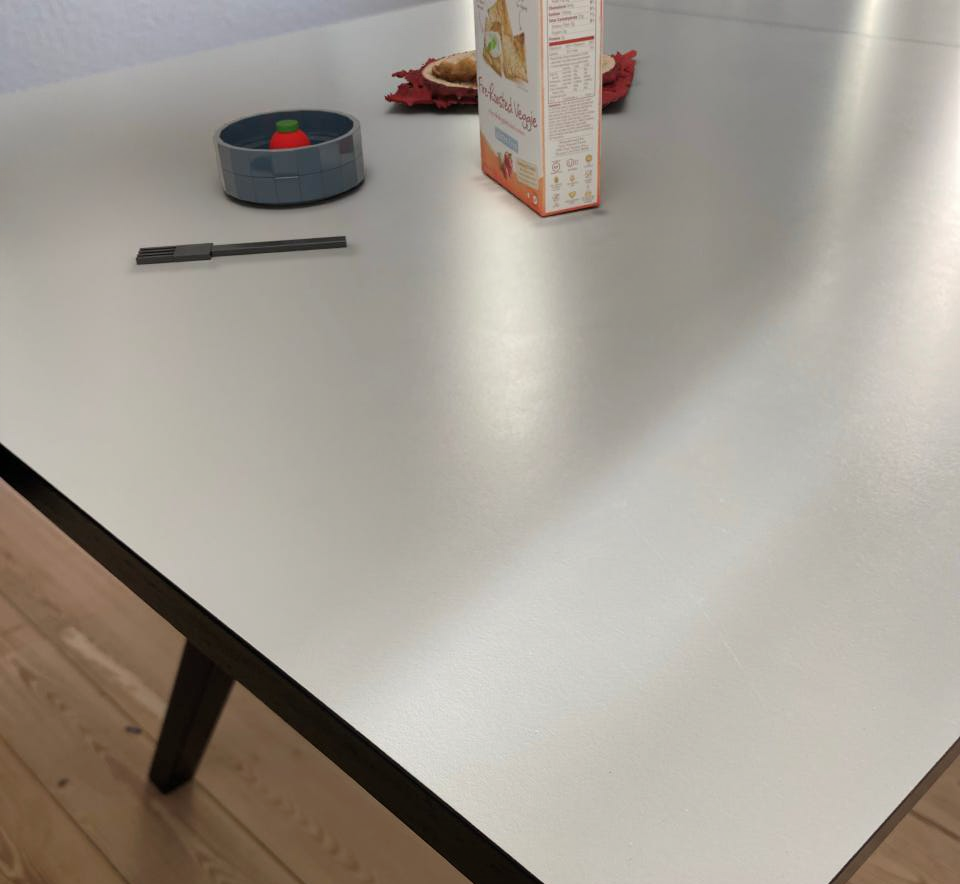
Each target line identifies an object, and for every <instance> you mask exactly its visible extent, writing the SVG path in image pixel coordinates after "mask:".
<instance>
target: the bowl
mask: <svg viewBox="0 0 960 884" xmlns="http://www.w3.org/2000/svg"><path fill="white" fill-rule="evenodd" d="M282 120H296V121H298V126H299V129H300V130H301V131H302V132H304V133H305V134H306V136H307V137H308V139H309V141H310V144H311V145H310V146H304V147H298V148H288V149H274V150H270V141H271V138H272V136H273V135H274V134H275V132H276V131H277V129H276V123H277V122H279V121H282ZM212 142H213V147H214V153H215V158H216V162H217V169H218V174H219V178H220V179H219V180H220V186H221V189H222V190H223V191H224V192H225V194H226V195H228V196H231V197H233V198H235V199H237V200H240V201H245V202H250V203H253V204H259V205H266V206H293V205H295V206H296V205H304V204H305V205H306V204H310V203H317V202H321V201H324V200H327V199H330V198H334V197H337V196H338V195H340V194H342V193H345V192H346V191H349V190H350V189H352V188H355V187H356V186H359V184H361V182H362V181H363V180H364V179H365V177H366V168H365V167H366V166H365V158H364V149H363V138H362V128H361V121H360V120H359V119H358V117H356V116H354V115H352V114H350V113H347V112H343V111H340V110H332V109H325V108H289V109H277V110H271V111H264V112H258V113H254V114H250V115H246V116H241V117H238V118H236V119H234V120H231V121H229V122H226V123H224V124H222V125H221V126H219V127H218V128H217V129H215V130H214V133H213V134H212Z"/></svg>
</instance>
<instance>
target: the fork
mask: <svg viewBox="0 0 960 884" xmlns="http://www.w3.org/2000/svg"><path fill="white" fill-rule="evenodd" d="M346 247H347V236H346V235H337V236H336V235H335V236H323V237H308V238H296V239H281V240H268V241H253V242H239V243H229V244H227V243H226V244H214V242H205V243H204V242H203V243H191V244H176V245H165V246H163V245H162V246H150V247H149V246H148V247H140V248H138V249H139V250H138V252H137V254H136V257H135V262H136V265H145V264H146V265H147V264H160V263H174V262H176V263H177V262H189V261H204V260H211V259H212V257H220V256H221V257H222V256H233V255H234V256H236V255H248V254H249V255H251V254H263V253H279V252H290V251H305V250H318V249H319V250H321V249H332V248H333V249H334V248H346Z"/></svg>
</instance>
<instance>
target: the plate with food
mask: <svg viewBox="0 0 960 884" xmlns="http://www.w3.org/2000/svg"><path fill="white" fill-rule="evenodd" d="M637 54H638V51H637V50H635V49H631V50H629V51H628V52H626V53H624V54H621V52H620V51H618V50H617V51H616V54H614V53H613V54H611V55H610V54H606V53H605V52H603V62H602V109H603V108H606V106H608V105H609V104H610V103H611V102H613V103H614V102H615V103H616V102H617V101H618V100H620V99H622V100H626V97H627V93H628V89H629V87H630V86H631V84H632V82H633V77H634V71H635V70H634V69H635V66H636V60H635V59H634V58H635V57H637V56H638V55H637ZM424 64H425V65H424ZM422 65H424V66H422ZM390 76H391V77H392V78H395V77H396V78H398V79H404V80H406V82H405V83H400V84H398V85H397V89H396V91H395V92H394V93H392V92H391V91H389V93H388V94H386V95H384V100H385V101H386V102H387V103H388V102H389V103H392V102H393V103H396V104H401V105H402V104H404V106H408V107H411V106H413V105H417V104H418V105H420V104H423V105H436V107H438V109H441V108H444V109H446V110H447V109H448V107H451V106H452V104H454V105H455V104H460V105H466V104H467V105H475V104H478V97H476V96H478V87H477V68H476V49H474V50H469V51H464V52H458V53H453V54H452V55H451V54H450V55H448V57H446V56H442V57H439V58H438V59H435V58H434V57H433V58H431V57H428V59H427V60H426V61H425V63H422V64H421V66H420V68H419V69H409V70H408V71H407V70H405V69H402V70H400V71H396V72H393V73H392V74H391V75H390Z"/></svg>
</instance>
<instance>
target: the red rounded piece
mask: <svg viewBox="0 0 960 884" xmlns="http://www.w3.org/2000/svg"><path fill="white" fill-rule="evenodd" d="M276 129H277V131H276V132H275V134H274V135H273V136H272V138H271V141H270V150H274V149H288V148H298V147H304V146H310V145H311V144H310V141H309V139H308V137H307V136H306V134H305V133H304V132H302V131H301V130H300V129H299V126H298V121H296V120H282V121H279V122H277V123H276Z"/></svg>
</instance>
